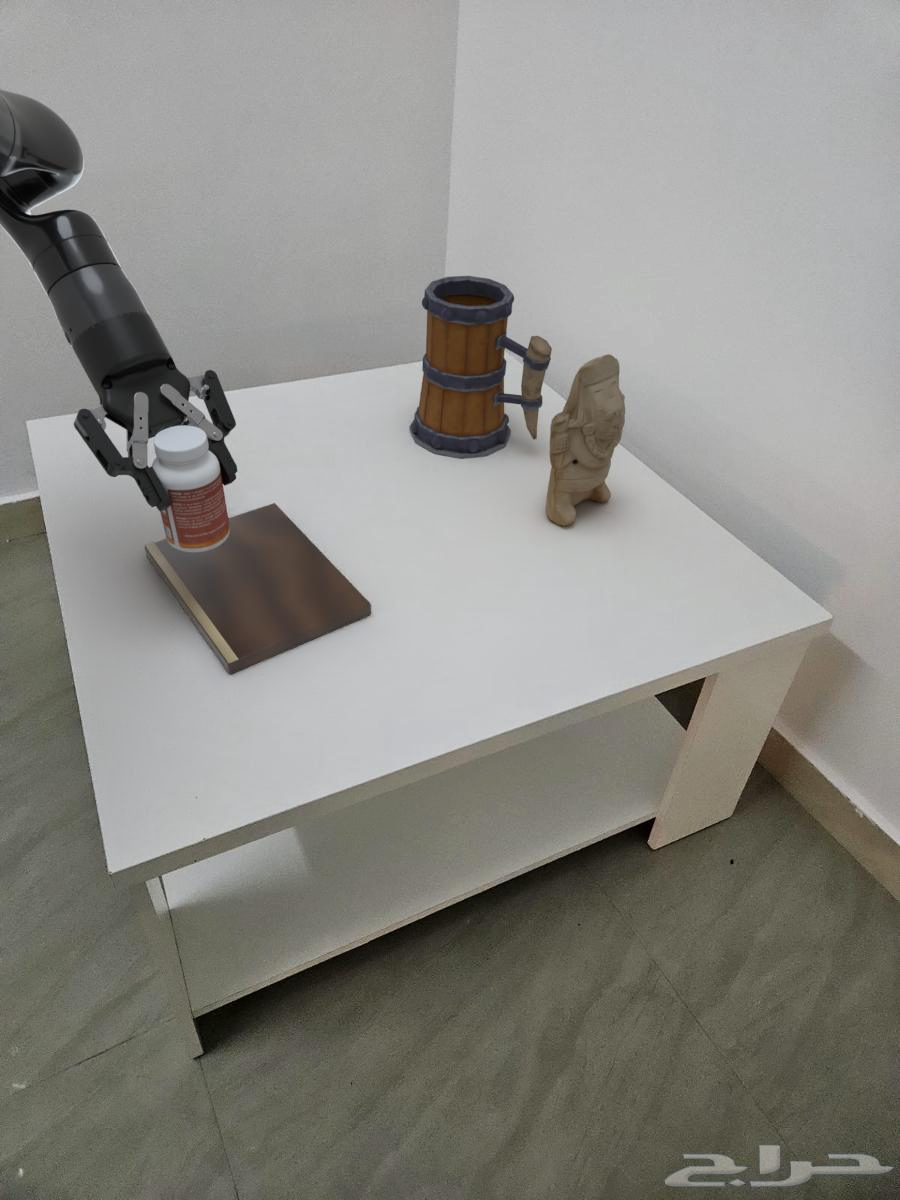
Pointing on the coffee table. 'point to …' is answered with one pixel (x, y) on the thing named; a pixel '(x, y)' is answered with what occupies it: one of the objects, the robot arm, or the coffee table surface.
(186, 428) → the pill bottle
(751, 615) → the coffee table surface
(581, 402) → the figurine
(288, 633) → the board
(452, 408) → the mug
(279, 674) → the coffee table surface
